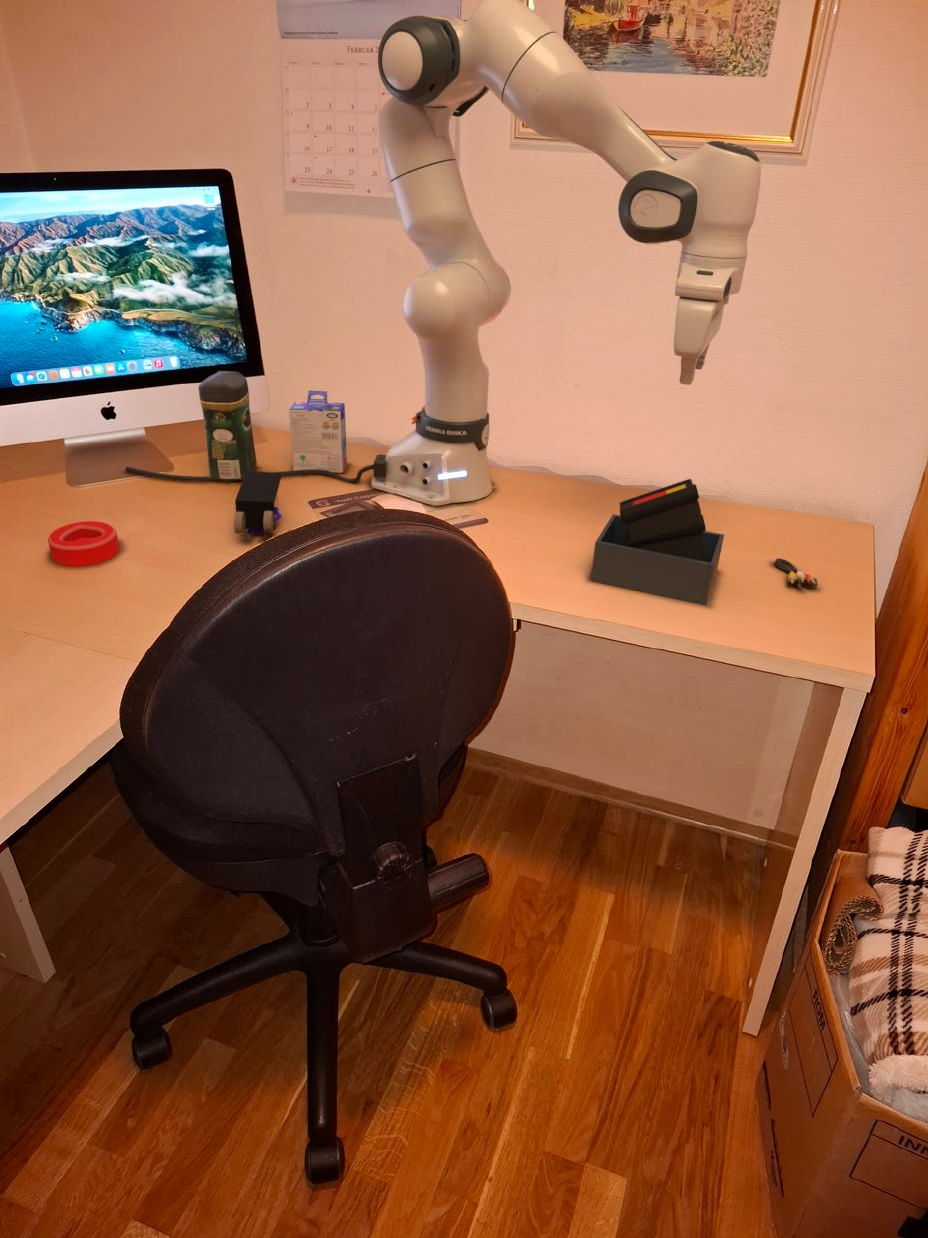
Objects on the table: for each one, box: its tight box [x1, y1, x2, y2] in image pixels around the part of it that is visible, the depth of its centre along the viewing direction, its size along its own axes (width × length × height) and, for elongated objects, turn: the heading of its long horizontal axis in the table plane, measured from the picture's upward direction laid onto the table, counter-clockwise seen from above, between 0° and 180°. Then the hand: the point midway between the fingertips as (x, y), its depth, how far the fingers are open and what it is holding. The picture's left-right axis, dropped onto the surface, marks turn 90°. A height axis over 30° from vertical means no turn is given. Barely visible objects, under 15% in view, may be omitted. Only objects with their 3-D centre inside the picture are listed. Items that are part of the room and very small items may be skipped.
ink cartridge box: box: [288, 390, 348, 474], centre depth 160 cm, size 10×6×14 cm, turn 89°
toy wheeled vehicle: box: [233, 471, 283, 542], centre depth 138 cm, size 7×8×15 cm
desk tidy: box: [590, 513, 725, 606], centre depth 128 cm, size 17×11×6 cm, turn 68°
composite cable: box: [774, 558, 819, 589], centre depth 130 cm, size 10×5×2 cm, turn 177°
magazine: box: [619, 478, 707, 562], centre depth 126 cm, size 4×13×15 cm, turn 82°
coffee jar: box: [198, 370, 257, 483], centre depth 155 cm, size 10×8×19 cm
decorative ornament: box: [47, 520, 120, 567], centre depth 129 cm, size 10×10×3 cm
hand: (691, 375), depth 125 cm, fingers open, 8 cm apart
